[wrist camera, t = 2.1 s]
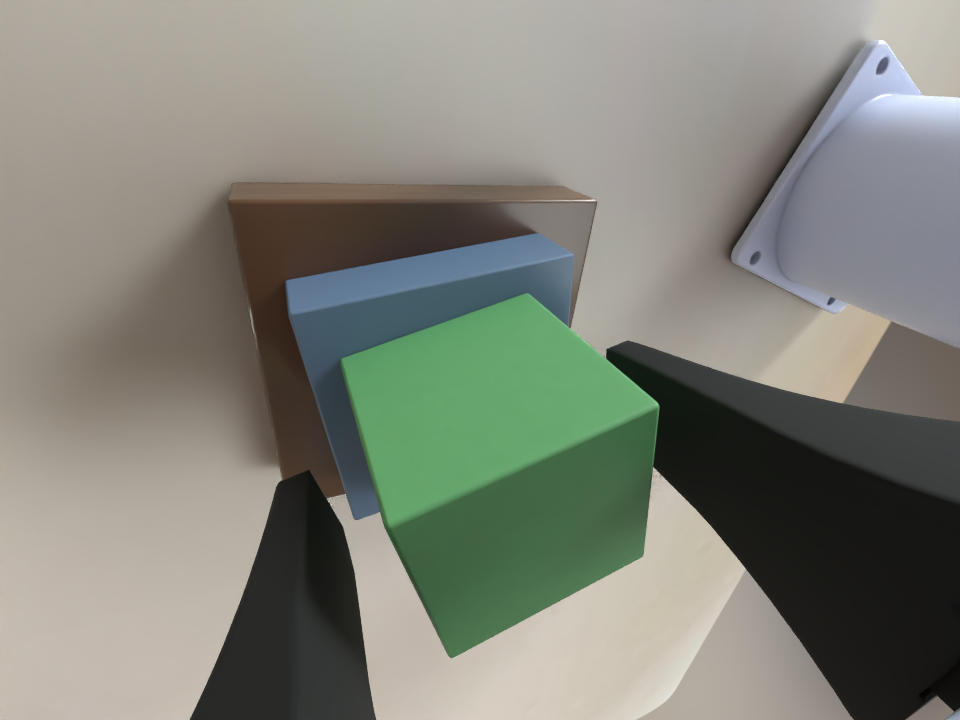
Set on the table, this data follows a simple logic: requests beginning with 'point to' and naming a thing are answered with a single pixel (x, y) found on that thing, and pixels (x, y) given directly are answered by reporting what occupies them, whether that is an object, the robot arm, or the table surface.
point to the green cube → (503, 463)
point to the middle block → (407, 320)
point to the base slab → (358, 242)
